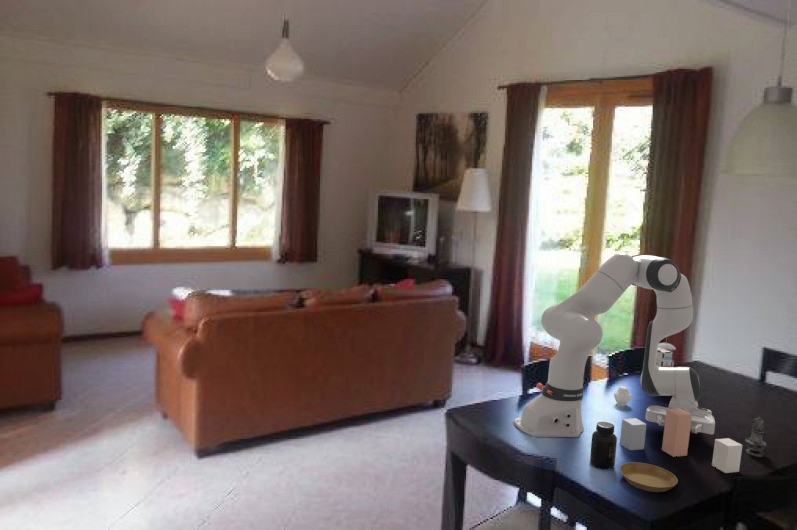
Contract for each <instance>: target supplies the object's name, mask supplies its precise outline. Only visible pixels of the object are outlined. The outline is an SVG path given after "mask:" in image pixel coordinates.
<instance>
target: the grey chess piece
mask: <svg viewBox="0 0 797 530" xmlns="http://www.w3.org/2000/svg"><path fill="white" fill-rule="evenodd" d="M764 424H765V421H764V420H763V419H762V418H761V416H760V415H759V416H758V417H757V418H754V419H753V422H752V428H750V430H751V433H750V437H748V438H745V439H744V441H745V445H746V447H747V449H744V452H745V453H746V454H747V455H749V456H752V457H753V456H754V457H760V458H762V457H764V456H765V453H764V452H763V451H764V450H765V449H766V446H767V443H766V442H765V440H764V441H763V435H764V433H765V430H764V428H765V427H764V426H765V425H764Z"/></svg>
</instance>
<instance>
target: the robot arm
mask: <svg viewBox="0 0 797 530" xmlns="http://www.w3.org/2000/svg"><path fill="white" fill-rule="evenodd" d="M631 285H632V286H635V287H640V288H643V289H646V290H653V291H654V294H655V296H656V314H655V317H654V319H652V320H650V321H649V324H648V326H647V329H646V335H645V336H646V337H645V345H644V354H643V355H644V356H643V362H644V364H643V363H642V371H641V375H640V387H641V389H642V390H641V391H643V392H645V394H646V395H648V396H649V397H661V396H664V397H665V396H667V397H669V396H670V397H671V396H672V397H671V399H670V401H669V404H668V406H667V407H665V406H661V405H649V406H647V407H646V410H645V418H644V419H645V420H646V421H648V422H652V423H656V424H658V426H661V427H665V419H666V411H667V409H678V408H680V409H682V410H684V411H686V412H688V413H690V414H692V419H691V427H690V431H691V433H692V434H697V435H698V433H703V434H708V435H714V434H715V430H716V421H715V417H714V415H712V410H710V409H707V408H705V407H702V406H699V403H698V401H699V399H700V398H701V396H702V395H701V394H702V385H701V379H700V375H699V373H697V371H696V370H695V369H693V368H692V367H690V366H673V367H658V366H657V365H656V360H657V350H658V344H659V343H661V341H662V340H664V339H665V338H666V337H667V338H668V337H670V336H673V335H675V334H679V333H681V332H682V331H683V330H686V329H687V328H689V326H690V325H691V324H692V322H693V319H694V306H693V296H692V291H691V287H690V283H689V280H688V278H687V276H686V275H684V274H682V273H681V272H680V269H679V267H678V265H677V264H676V262H674V261H673V260H671V259H670V258H667V257H663V256H656V255H653V254H652V255H651V254H645V255H644V254H635V255H632V256H631V255H629V254H628V253H624V252H618V253H615V254H614V255H612V256H610V258H608V259H607V260H606V261H604V263H603V264H602V265H601V266H600V267H598V269H597V270H596V271H595V272H593V274H592V276H591V277H589V278H588V279H587V281H586V282H585V283H584V284H582V286H581V287H580V288H579V289H577V291H575V293H573V294H572V295H570V296H568V297H567V298H566V299H564V300H562V301H561V302H559V303H557V304H555V305H552V306H549V307H547V308H546V309H545V310H544V312H542V315H541V320H540V322H541V326H542V328H543V330H544V331H545V332H546V333H547V334H548V335H549V336H550V337H552V338H554V339H556V340H558V341H559V347H558V350H557V352H556V353H555V355H552V357H551V358H550V359H549V366H548V374H547V375H548V377H547V382H546V383H545V385H544V384H542V383H541V382H537V384H536V388H537V390H540V391H541V393H540V394H539V395H538V396H536V397H534V398H533V399H532V400H531V401H529V402H528V403H527V404H525V405H524V407H523V408H522V413H521V417H515V418H514V421H513V423H514V425H515V427H517V428H518V429H519V430H520V431H522V432H524V433H525V434H527V435H529V436H532V437H535V438H579V437H580V434H581V433H582V432H583V431H584V429H585V428H584V424H583V417H582V416H583V415H582V401H583V398H584V377H585V367H586V364H587V360H588V358H589V355H590V354H591V352H592V351H593V350H594V349H595V348H597V347H598V346H599V345H600V343H601V341H602V340H603V329H602V326H601V325H600V323H598V322H597V321H596V320H595V319H594V317H596V316H598V315H601V314H602V315H603V314H604V313H605V314H606V313H607V312H608V311H609V310H610V309H611V308H612V307H613V306H614V305H615V304H616V302H617V301H618V300H619V299H620V298H621V297H622V295H624V293H625V292H626V291H627V289H628V288H629V287H630V286H631Z"/></svg>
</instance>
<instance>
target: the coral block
mask: <svg viewBox="0 0 797 530" xmlns="http://www.w3.org/2000/svg"><path fill="white" fill-rule="evenodd" d="M691 419H692V414H690V413H688V412H686V411H684V410H682V409H680V408H678V409H667V411H666V419H665V424H664V430H663V437H662V443H661V444H662V447H661V450H662V452H665V453H667V454H668V455H670V456H672V457H673V458H674V457H676V456H677V457H685V456H688V450H689V449H688V448H689V442H690V435H691V434H690V433H691V430H690V427H691Z"/></svg>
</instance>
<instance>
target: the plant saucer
mask: <svg viewBox="0 0 797 530" xmlns="http://www.w3.org/2000/svg"><path fill="white" fill-rule="evenodd" d="M619 472H620V474H621V475H622V477H623V479H625V480H626V482H627V483H628V484H630V485H631V486H632V487H634V488H637V489H639V490H642V491H645V492H652V493H663V492H667V491H669V490H671V489H673V488H674V487H675V486H676V485H677V484H678V482H679V480H678V478H677V476H676V475H675V473H672V472H671V471H669V470H668V469H665V468H663V467H660V466H659V465H658V466H657V465H654V464H650V463H645V462H626V463H623V464H621V465H620V467H619Z"/></svg>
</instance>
